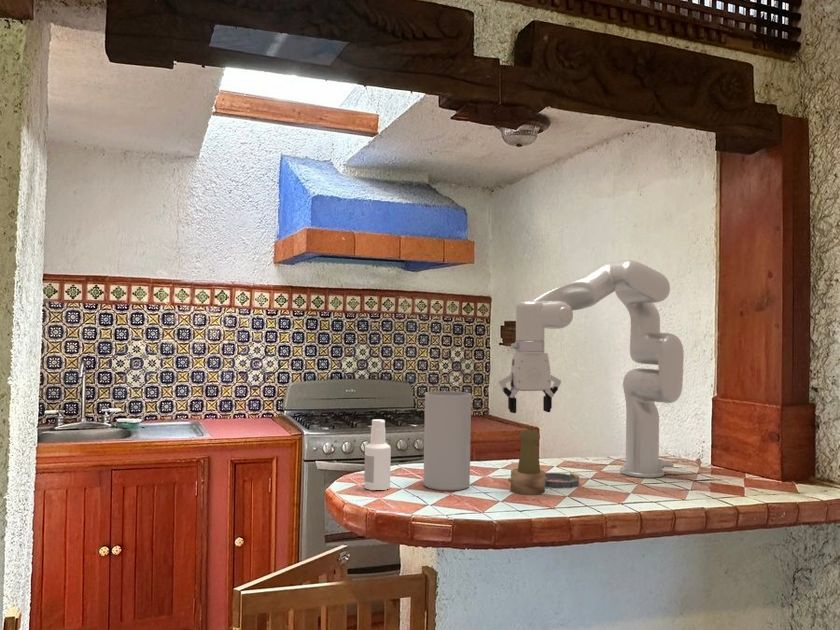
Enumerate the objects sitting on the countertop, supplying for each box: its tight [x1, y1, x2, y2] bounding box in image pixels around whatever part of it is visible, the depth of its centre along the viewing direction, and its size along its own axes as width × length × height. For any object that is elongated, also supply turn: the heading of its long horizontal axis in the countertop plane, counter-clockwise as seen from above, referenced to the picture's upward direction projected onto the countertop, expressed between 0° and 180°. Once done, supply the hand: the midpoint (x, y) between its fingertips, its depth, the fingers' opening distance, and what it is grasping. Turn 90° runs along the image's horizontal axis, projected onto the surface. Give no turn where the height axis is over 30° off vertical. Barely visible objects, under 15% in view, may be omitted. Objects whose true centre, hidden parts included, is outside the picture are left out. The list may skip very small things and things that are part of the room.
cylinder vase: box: [422, 390, 472, 492], centre depth 186 cm, size 12×12×25 cm
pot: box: [507, 468, 548, 496], centre depth 182 cm, size 11×9×5 cm
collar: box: [545, 472, 580, 489], centre depth 192 cm, size 12×12×2 cm
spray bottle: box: [363, 418, 392, 491], centre depth 182 cm, size 7×7×18 cm
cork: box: [517, 429, 541, 474], centre depth 183 cm, size 6×6×11 cm
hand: (530, 412), depth 183 cm, fingers open, 9 cm apart
